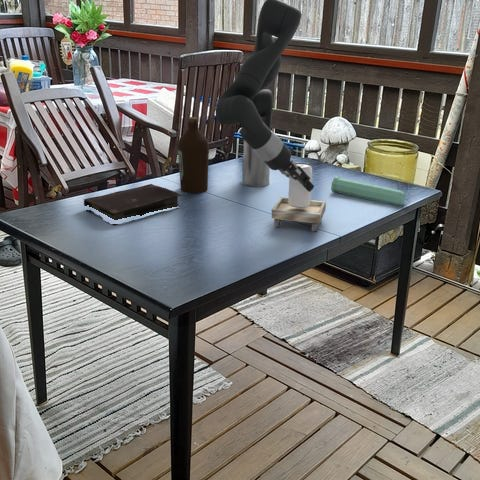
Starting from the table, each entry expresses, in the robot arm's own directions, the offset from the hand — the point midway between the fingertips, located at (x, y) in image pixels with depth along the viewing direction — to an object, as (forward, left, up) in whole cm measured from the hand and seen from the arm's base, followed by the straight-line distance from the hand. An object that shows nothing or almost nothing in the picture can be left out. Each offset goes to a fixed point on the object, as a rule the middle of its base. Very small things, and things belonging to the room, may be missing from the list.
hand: (304, 185), depth 173 cm
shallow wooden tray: (-1, -1, -12) cm, 12 cm away
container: (+17, +30, -12) cm, 37 cm away
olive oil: (-42, +21, -12) cm, 48 cm away
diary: (-53, -4, -12) cm, 55 cm away
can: (-1, -1, -6) cm, 6 cm away
